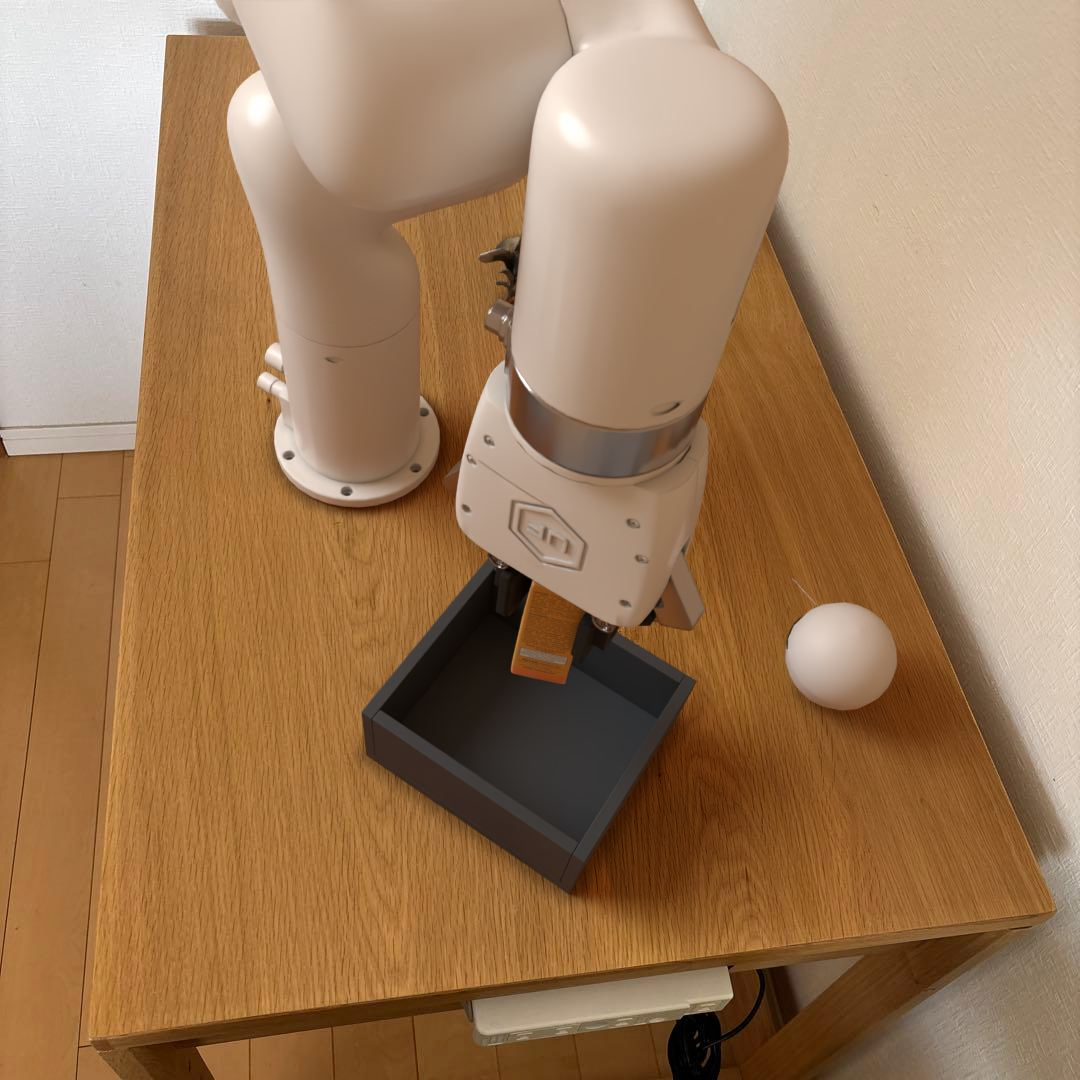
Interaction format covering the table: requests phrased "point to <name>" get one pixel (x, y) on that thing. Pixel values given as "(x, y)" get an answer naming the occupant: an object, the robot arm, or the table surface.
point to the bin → (522, 732)
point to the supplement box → (546, 636)
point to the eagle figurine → (506, 262)
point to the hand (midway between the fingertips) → (553, 616)
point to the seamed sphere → (840, 655)
